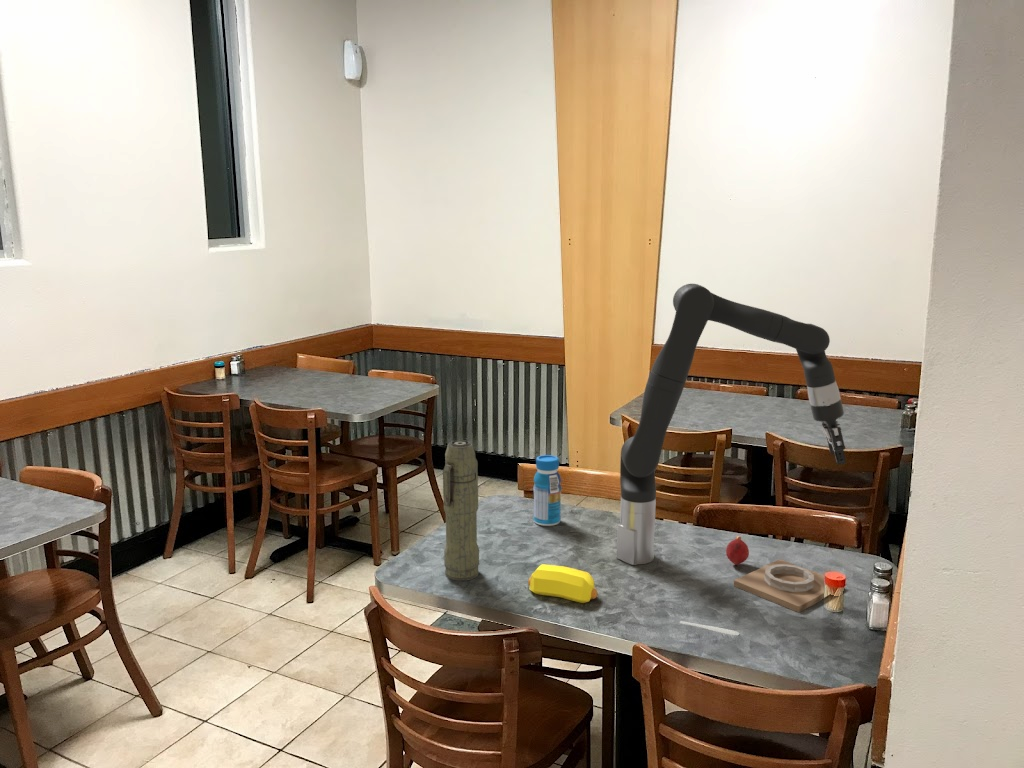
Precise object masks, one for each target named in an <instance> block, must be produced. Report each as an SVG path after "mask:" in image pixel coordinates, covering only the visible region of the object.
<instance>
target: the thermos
mask: <svg viewBox="0 0 1024 768" xmlns="http://www.w3.org/2000/svg"><path fill="white" fill-rule="evenodd" d="M444 457H445V458H444V459H445V461H444V463H445V464H444V467H443V470H442V485H443V486H442V489H443V491H442V492H443V496H442V497H443V511H444V512H445V541H446V542H445V546H444V548H443V549H444V550H443V552H444V553H443V554H444V556H443V559H444V562H443V563H444V568H445V572H444V574H445V577H446V578H447V579H449V580H453V581H459V582H460V581H461V582H462V581H470V580H473V579H475V578H476V577H478V576H479V575H480V574H479V565H480V548H479V545H478V531H477V530H478V527H477V522H478V520H477V519H478V518H477V516H478V514H477V513H478V511H479V478H478V477H479V476H478V475H479V473H478V470H479V469H478V466H479V463H478V462H479V461H478V459H477V458H476V451H475V449H474V446H473V444H472V442H470V441H468V440H463V439H458V440H457V439H456V440H452V441H451V442H449V443H448V444H447V447H446V450H445V453H444Z"/></svg>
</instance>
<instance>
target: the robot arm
mask: <svg viewBox="0 0 1024 768" xmlns="http://www.w3.org/2000/svg"><path fill="white" fill-rule="evenodd" d="M672 305H673V308H674V311H675V314H674V317H673V322H672V327H671V328H670V329H671V330H670V332H669V335H668V338H667V339H666V342H665V343H664V344H663V346H662V347H661V349H660V351H659V353H658V354H657V356H656V358H655V360H654V362H653V364H652V367H651V370H650V373H649V375H648V379H647V381H646V385H645V389H644V391H643V399H642V405H641V413H640V414H641V415H640V419H639V424H638V426H637V428H636V430H635V431H636V432H635V434H634V435H633V436H631V437H629V438H628V439H626V440H625V441H624V443H623V444H622V446H621V449H620V469H619V470H620V472H619V473H620V475H619V478H620V479H619V480H620V481H619V482H620V484H619V485H620V516H619V518H620V519H619V524H617V527H616V529H617V530H616V531H617V532H616V559H618V560H620V561H622V562H625V563H627V564H629V565H632V566H635V565H645V564H649V563H651V562H653V561H654V558H655V557H654V556H655V555H654V554H655V553H654V552H655V527H656V526H655V525H656V506H657V505H656V502H657V501H656V499H657V486H656V469H657V468H658V466H659V463H660V459H661V456H662V455H661V454H662V449H663V445H664V442H665V438H666V434H667V431H668V429H669V425H670V424H671V421H672V418H673V416H674V414H675V411H676V409H677V406H678V404H679V401H680V399H681V396H682V395H683V390H684V388H685V385H686V382H687V379H688V375H689V373H690V369H691V367H692V363H693V360H694V356H695V352H696V349H697V346H698V343H699V341H700V338H701V335H703V332H704V330H705V327H706V325H707V323H708V321H709V322H714V323H719V324H722V325H726V326H728V327H731V328H732V329H733V328H734V329H736V330H738V331H741V332H742V333H743V332H744V333H746V334H749V335H752V336H755V337H757V338H760V339H763V340H767V341H769V342H772V343H777V344H782V345H785V346H788V347H791V348H794V349H795V351H796V354H797V356H798V358H799V361H800V363H801V366H802V368H803V375H804V379H805V384H806V389H807V397H808V402H809V405H810V410H811V414H812V418H813V420H815V421H816V422H821V429H822V432H823V435H824V437H825V440H826V441H827V445H828V450H829V453H830V454H831V455H833V454H834V457H835V461H836V464H837V465H839V466H840V465H845V464H846V463H847V460H846V459H847V458H846V455H845V451H844V450H846V446H845V442H844V437H843V433H842V428H841V424H840V423H839V421H838V420H837V419H840V418H841V417H843V416H844V414H845V411H844V407H843V403H842V399H841V394H840V389H839V387H838V384H837V381H836V376H835V372H834V367H833V364H832V362H831V360H830V359H829V358H828V357H827V355H826V350H827V349H828V347H829V346H830V342H831V340H830V335H829V333H828V332H827V331H826V330H825V329H824V327H823V328H822V327H820V326H817V325H815V324H812V323H805V322H801V321H798V320H794V319H792V318H790V317H788V316H786V315H783V314H779V313H778V312H777V313H776V312H773V311H770V310H768V309H767V310H766V309H763V308H760V307H755V306H752V305H748V304H743V303H739V302H736V301H733V300H729V299H727V298H724V297H722V296H719V295H717V294H715V293H713V292H711V291H710V290H709V289H707V288H706V287H705V286H703V285H700V284H698V283H686V284H684V285H682V286H680V287H678V289H677V290H676V291H675V293H674V294H673V297H672ZM838 443H839V445H838Z"/></svg>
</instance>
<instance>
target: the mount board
mask: <svg viewBox="0 0 1024 768" xmlns="http://www.w3.org/2000/svg"><path fill="white" fill-rule="evenodd" d="M824 575H825V574H821V573H819V572H817V571H813V570H811V569H807V568H805V567H802V566H799V565H797V564H794V563H792V562H788V561H787V560H786V561H785V560H783V559H780V558H779V559H777V560H775V561H773V562H771V563H769V564H766V565H764V566H761V568H758V569H755V570H754V571H751V572H749V573H747V574H744V575H743V576H741V577H738V578H736V579H734V580H733V587H736V588H738V589H739V590H740V589H741V590H743V591H745V592H747V593H750V594H752V595H755V596H756V597H760V598H762V599H764V600H768V601H769V602H771V603H772V602H773V603H774V604H777V605H779V606H781V607H784V608H786V609H788V610H791V611H794V612H797V613H798V614H799V613H801V612H803V611H804V610H806V609H808V608H810V607H812V606H814V605H815V604H817V603H818V602H819V603H820V601H822V599H823V598H824V592H825V591H824ZM824 599H825V598H824ZM824 599H823V600H824Z"/></svg>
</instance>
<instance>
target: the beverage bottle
mask: <svg viewBox="0 0 1024 768" xmlns="http://www.w3.org/2000/svg"><path fill="white" fill-rule="evenodd" d="M535 465H536V466H535V467H536V470H537V471H536V472H535V474H534V478H533V482H534V485H533V488H532V491H533V522H534V523H535V524H536V525H539V526H543V527H552V526H555V525H559V524H560V522H561V510H562V509H561V504H562V503H561V501H562V498H561V497H562V485H561V483H562V477H561V474H560V473H559V471H558V470H559V468H560V458H559V457H558V456H556V455H552V454H551V455H550V454H546V455H545V454H543V455H539V456H536V459H535Z"/></svg>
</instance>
